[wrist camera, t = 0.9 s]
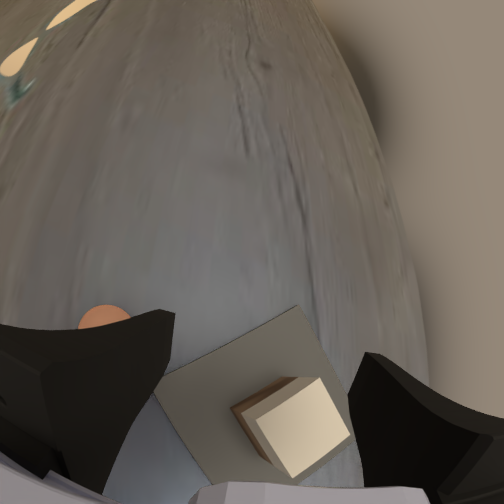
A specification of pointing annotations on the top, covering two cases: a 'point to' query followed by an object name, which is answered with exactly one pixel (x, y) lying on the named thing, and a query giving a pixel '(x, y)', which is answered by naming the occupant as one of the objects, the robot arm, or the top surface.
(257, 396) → the tower base
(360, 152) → the top surface
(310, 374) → the mat
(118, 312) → the cylinder
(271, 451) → the tower mid
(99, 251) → the top surface
